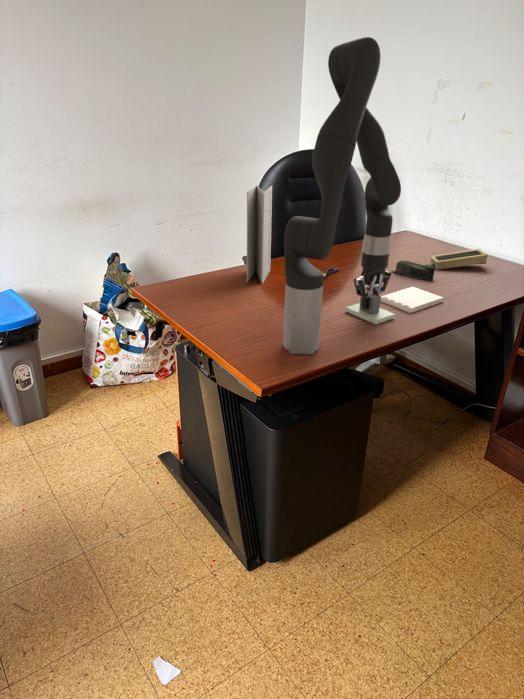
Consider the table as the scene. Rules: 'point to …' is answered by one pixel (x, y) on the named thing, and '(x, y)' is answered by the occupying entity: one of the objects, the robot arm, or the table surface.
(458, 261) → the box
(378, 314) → the stub
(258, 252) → the brochure
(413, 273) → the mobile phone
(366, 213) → the robot arm
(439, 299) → the cream panel
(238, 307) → the table surface
